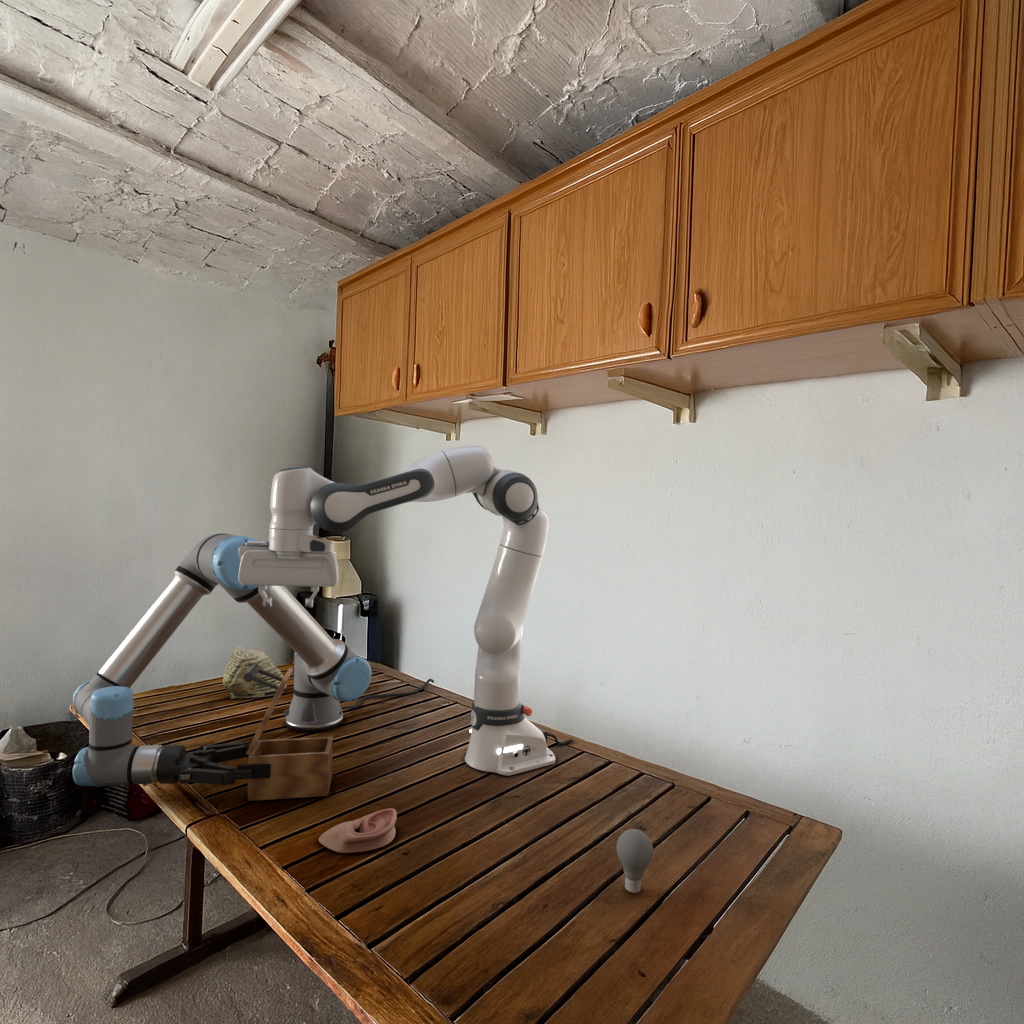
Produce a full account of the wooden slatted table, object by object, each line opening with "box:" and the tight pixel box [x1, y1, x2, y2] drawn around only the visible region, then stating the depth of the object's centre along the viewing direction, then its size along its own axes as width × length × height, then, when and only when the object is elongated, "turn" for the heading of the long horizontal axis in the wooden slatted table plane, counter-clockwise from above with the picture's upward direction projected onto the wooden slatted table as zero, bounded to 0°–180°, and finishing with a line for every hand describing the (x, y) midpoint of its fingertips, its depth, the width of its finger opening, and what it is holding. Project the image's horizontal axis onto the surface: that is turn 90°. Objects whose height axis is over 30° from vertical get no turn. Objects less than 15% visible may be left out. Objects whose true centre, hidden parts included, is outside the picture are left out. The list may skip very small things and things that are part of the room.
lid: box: [243, 664, 294, 755], centre depth 135 cm, size 17×9×8 cm
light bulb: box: [615, 828, 654, 894], centre depth 106 cm, size 6×6×10 cm
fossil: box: [222, 646, 288, 699], centre depth 198 cm, size 9×18×15 cm, turn 132°
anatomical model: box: [318, 807, 398, 854], centre depth 118 cm, size 13×4×12 cm
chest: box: [247, 736, 333, 802], centre depth 136 cm, size 16×9×9 cm, turn 101°
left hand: (274, 760), depth 136 cm, fingers closed on chest, 9 cm apart
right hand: (288, 606), depth 135 cm, fingers open, 7 cm apart
